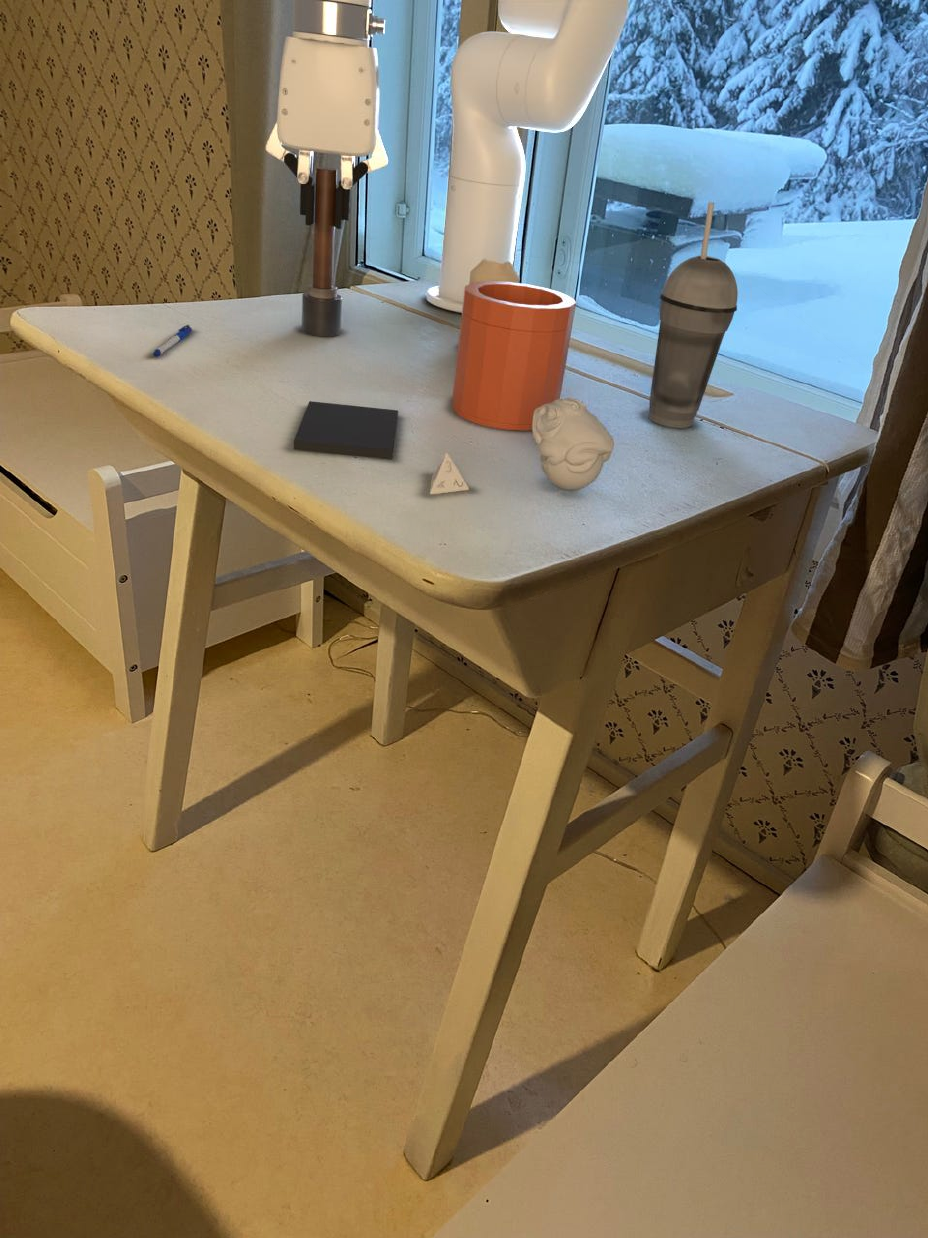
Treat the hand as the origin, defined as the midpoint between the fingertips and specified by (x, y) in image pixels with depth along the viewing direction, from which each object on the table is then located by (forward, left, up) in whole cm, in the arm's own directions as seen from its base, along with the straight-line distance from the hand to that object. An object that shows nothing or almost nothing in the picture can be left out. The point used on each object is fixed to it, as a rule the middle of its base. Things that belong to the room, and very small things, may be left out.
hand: (324, 223), depth 101 cm
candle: (+1, +19, -12) cm, 22 cm away
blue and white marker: (+11, -14, -12) cm, 21 cm away
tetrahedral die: (+42, +14, -12) cm, 46 cm away
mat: (+32, +6, -12) cm, 35 cm away
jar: (+22, +20, -12) cm, 32 cm away
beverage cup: (+19, +37, -12) cm, 43 cm away
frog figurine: (+39, +24, -12) cm, 47 cm away
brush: (0, 0, -12) cm, 12 cm away
